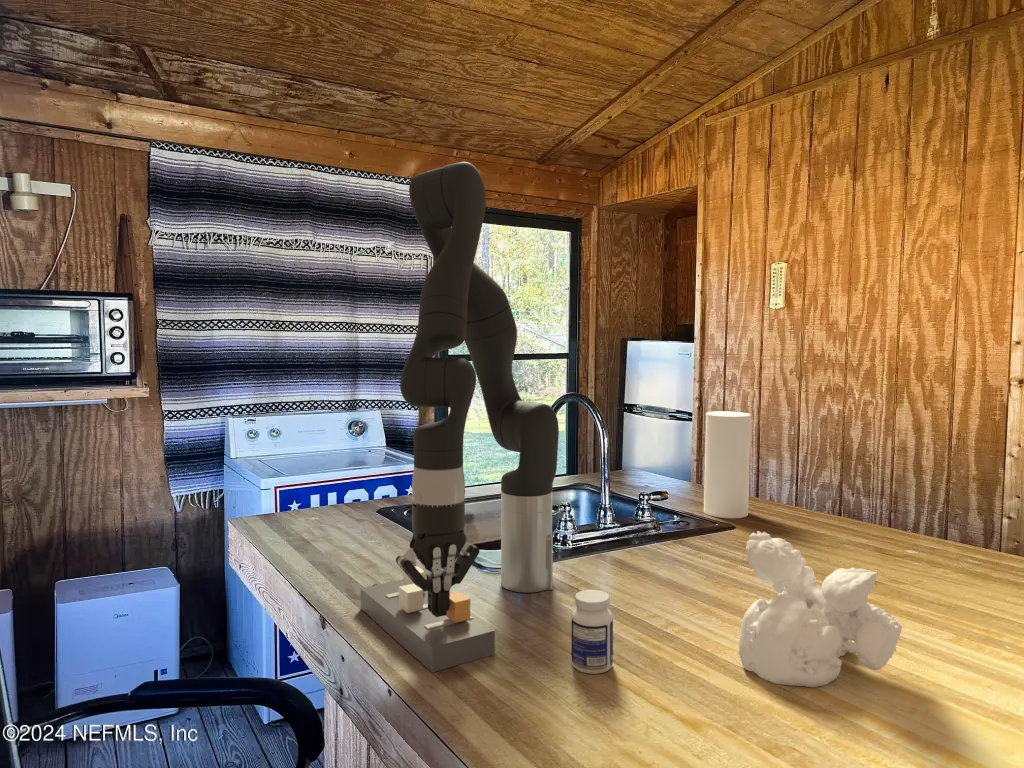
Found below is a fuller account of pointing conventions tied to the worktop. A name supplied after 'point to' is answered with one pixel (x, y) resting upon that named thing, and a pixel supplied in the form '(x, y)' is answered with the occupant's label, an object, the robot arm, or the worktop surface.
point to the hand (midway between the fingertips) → (438, 614)
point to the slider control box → (427, 629)
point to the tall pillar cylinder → (727, 464)
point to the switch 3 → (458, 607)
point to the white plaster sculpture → (810, 619)
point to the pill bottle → (592, 632)
